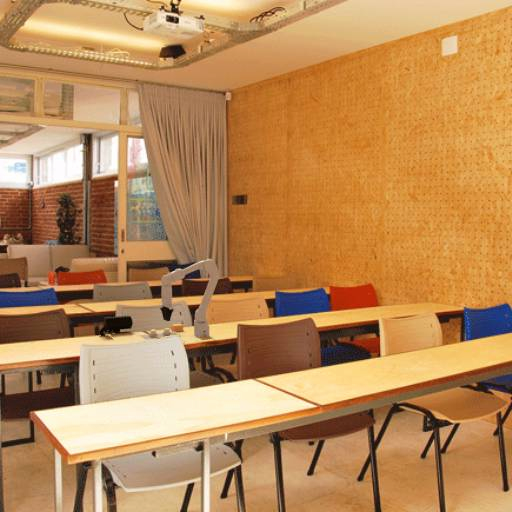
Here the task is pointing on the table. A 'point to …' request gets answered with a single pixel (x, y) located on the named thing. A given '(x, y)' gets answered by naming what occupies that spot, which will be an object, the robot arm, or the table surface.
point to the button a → (167, 330)
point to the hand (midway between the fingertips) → (166, 320)
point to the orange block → (176, 327)
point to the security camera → (116, 324)
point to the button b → (153, 331)
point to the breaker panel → (157, 335)
